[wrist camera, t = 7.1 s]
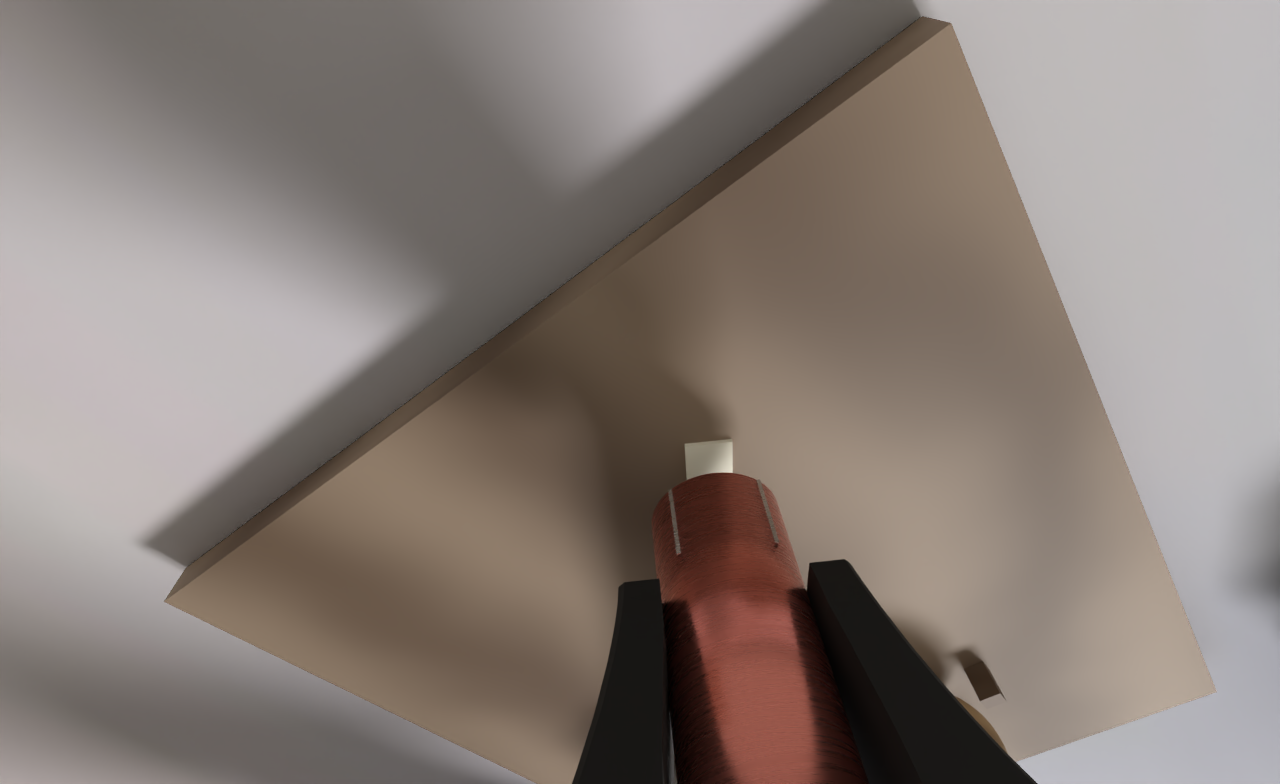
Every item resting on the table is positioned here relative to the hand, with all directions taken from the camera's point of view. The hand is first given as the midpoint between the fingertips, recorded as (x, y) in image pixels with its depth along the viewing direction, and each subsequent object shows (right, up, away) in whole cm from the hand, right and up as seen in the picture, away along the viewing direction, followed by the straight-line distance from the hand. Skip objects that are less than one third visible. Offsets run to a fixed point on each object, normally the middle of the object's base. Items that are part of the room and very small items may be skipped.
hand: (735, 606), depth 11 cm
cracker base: (+2, -3, +8) cm, 9 cm away
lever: (+1, -5, +6) cm, 8 cm away
